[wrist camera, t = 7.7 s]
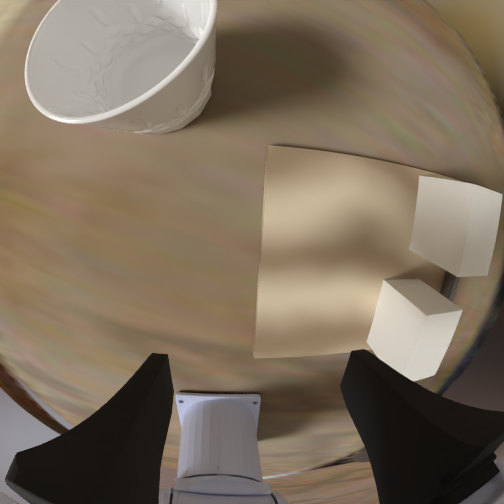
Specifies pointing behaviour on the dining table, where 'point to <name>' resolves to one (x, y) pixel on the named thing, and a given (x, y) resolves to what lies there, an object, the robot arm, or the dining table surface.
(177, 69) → the white cup
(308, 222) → the shelf board
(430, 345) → the carton
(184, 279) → the dining table surface
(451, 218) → the faced carton
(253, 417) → the robot arm
